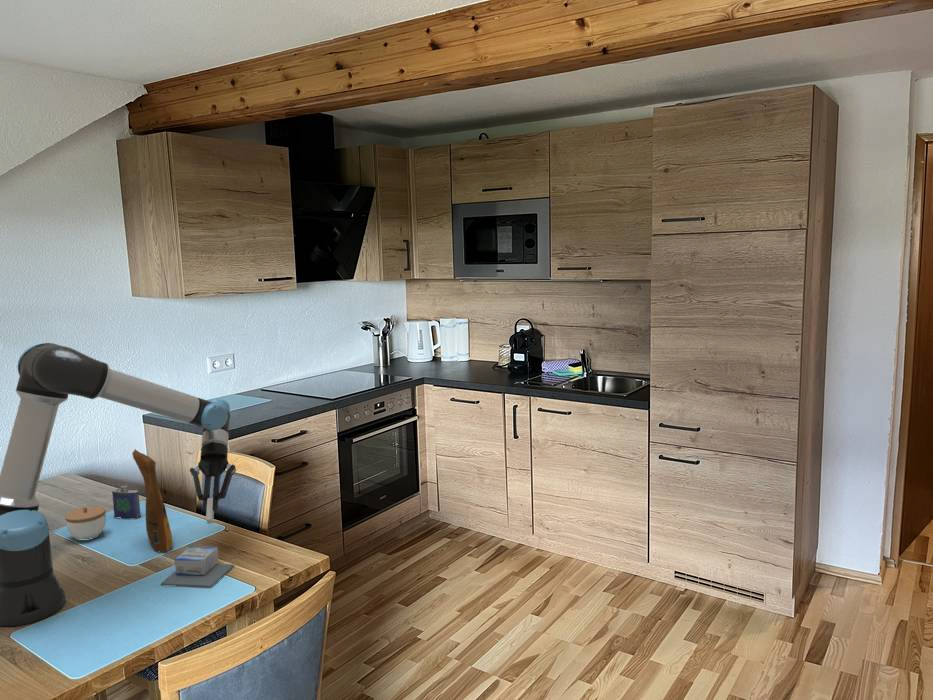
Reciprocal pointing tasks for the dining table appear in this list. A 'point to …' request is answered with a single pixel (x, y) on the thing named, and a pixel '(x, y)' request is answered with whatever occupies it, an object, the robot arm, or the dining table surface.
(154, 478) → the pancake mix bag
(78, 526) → the lidded jar
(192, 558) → the medicine box
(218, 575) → the mat
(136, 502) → the flask
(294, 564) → the dining table surface
